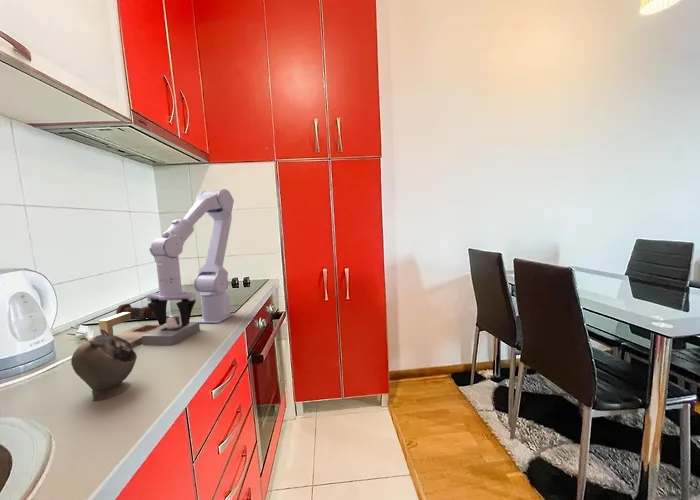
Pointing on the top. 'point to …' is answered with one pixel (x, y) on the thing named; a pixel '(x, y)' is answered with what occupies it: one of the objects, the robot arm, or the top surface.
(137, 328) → the socket board
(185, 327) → the frame
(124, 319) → the bar
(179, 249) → the robot arm
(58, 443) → the top surface
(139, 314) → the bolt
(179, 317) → the peg
